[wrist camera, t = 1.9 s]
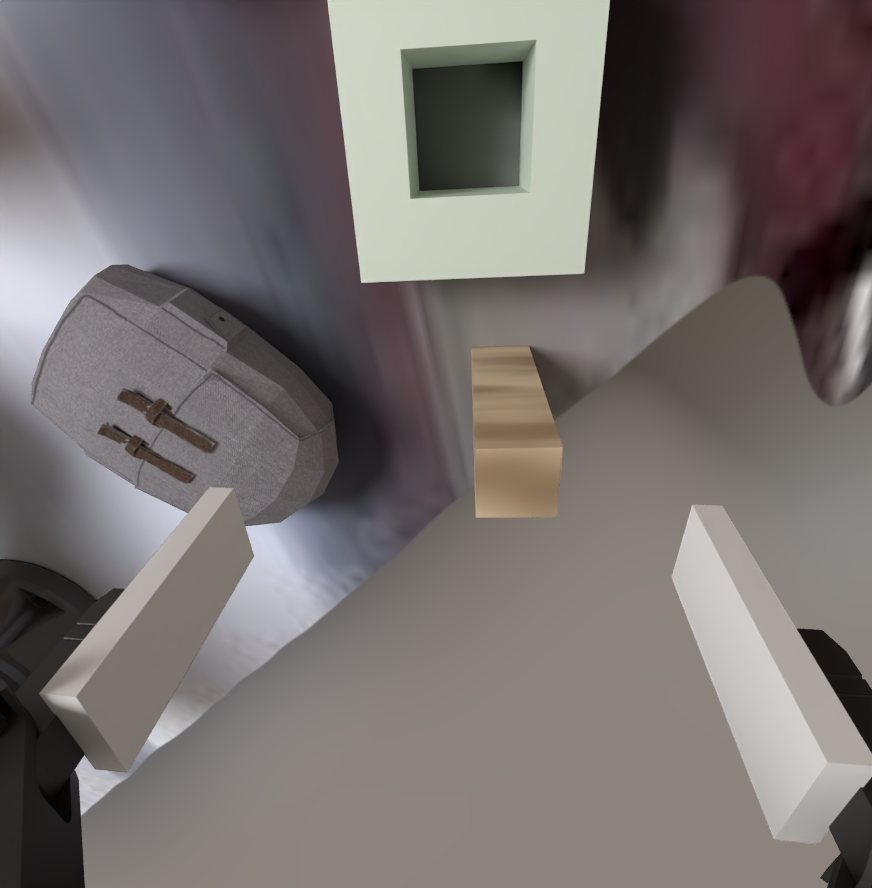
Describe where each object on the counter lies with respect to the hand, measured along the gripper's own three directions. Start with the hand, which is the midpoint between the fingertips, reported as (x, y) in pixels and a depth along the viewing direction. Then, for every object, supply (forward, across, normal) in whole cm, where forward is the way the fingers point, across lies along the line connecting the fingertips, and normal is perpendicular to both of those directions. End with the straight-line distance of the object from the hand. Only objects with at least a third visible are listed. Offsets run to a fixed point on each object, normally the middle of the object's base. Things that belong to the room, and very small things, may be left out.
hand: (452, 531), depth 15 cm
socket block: (+23, +1, -10) cm, 25 cm away
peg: (+23, -2, +5) cm, 23 cm away
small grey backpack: (+22, +19, +6) cm, 30 cm away
